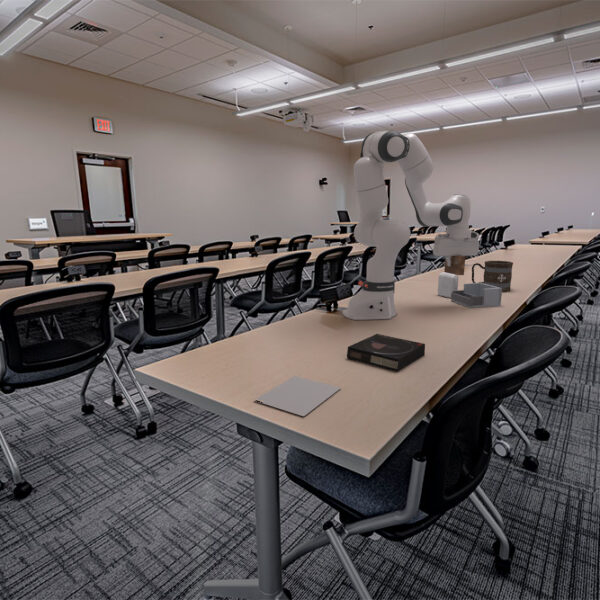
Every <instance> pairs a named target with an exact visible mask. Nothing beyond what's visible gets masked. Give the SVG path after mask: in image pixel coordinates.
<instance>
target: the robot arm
mask: <svg viewBox="0 0 600 600" xmlns="http://www.w3.org/2000/svg"><path fill="white" fill-rule="evenodd" d="M360 150H361V151H360V155H359V156H360V158H359V159H357V160H356V162H355V163H354V165H353V179H354V184H355V190H356V194H357V199H358V203H359V209H360V214H359V220H358V222H357V224H356V226H355V227H354V231H353V235H354V236H353V237H354V240H355V241H356V242H357V243H359V244H361V245H364V246H366V247H375V249H376V250H375V253H374V255H373V256H372V257H370V258H369V259H368V260H367V263H366V280H365V281H362V280H359V281H358V283H357V284H358V287H361V288H362V289H360V291H358V292H357V293H356V294H355V295H353V296H352V297H351V298H350V299H349V301H348V303H347V309H344V310H342V316H344V317H345V318H347V319H349V320H354V321H363V320H365V321H367V320H368V321H369V320H391V319H392V318H393V317H395V316H396V315H397V314H398V313H397V309H396V306H395V305H396V304H395V297H394V296H395V288H396V285H395V282H396V281H395V280H394V279H395V265H396V260H397V257H398V255H399V253H400V251H401V249H402V248H403V247H405V246H406V245H407V244H408V243H409V241H410V238H411V228H410V226H409V224H408V223H407V222H405V221H402V220H398V219H384V218H383V210H384V209H386V207H387V205H389V197H388V190H387V187H386V181H385V177H384V174H383V173H384V172H383V171H384V166H385V163H393V162H394V163H396V162H397V163H398V164H399V166H400V168H401V170H402V172H403V175H404V177H405V178H404V185H405V188H406V190H407V193H408V196H409V198H410V200H411V203H412V205H413V208H414V211H415V217H416V221H417V222H418V225H420V226H421V227H423V228H424V227H425V228H426V227H446V230H445V231H446V233H443V234H442V233H438V234H437V235H436V236H434V243H433V249H432V255H433V256H436V257H445V256H446V260H447V262H448V264H447V266H453V262H451V260H450V258H451V256H477V255H478V254H479V252H480V251H479V250H480V249H479V248H480V242H479V240H478V239H479V237H480V234H479V233H478V232H475V231H473V230H470V228H469V227H470V225H469V219H470V217H471V199H470V197H468V195H465V194H452V195H450V197H449V198H448V199H446V200H445V201H443V202H435V203H434V202H431V201H429V200H428V199H427V195H426V193H425V190H424V187H423V183H425V182H426V181H427V180H428V179H429V178H430V176H431V175H432V173H433V171H434V164H433V160H432V158H431V156H430V154H429V152H428V150H427V148H426V147H425V145H424V144H423V143H422V141H421V140H420V138H419V137H418V136H417V135H416V134H415V133H412V132H408V133H403V134H402V133H401V132H398V131H395V130H379V131H374V132H371V133H369V134H367V136H365V137H364V139H363V140H362V143H361V149H360Z"/></svg>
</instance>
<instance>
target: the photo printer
mask: <svg viewBox="0 0 600 600" xmlns="http://www.w3.org/2000/svg"><path fill="white" fill-rule="evenodd" d="M437 283H438V284H437V296H441V297H445V298H450V299H451V293H453V291H457V290H458V289H459V275H454V274H450V273H446V272H444V271H443V272H440V273H439V274H438V282H437Z"/></svg>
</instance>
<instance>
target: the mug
mask: <svg viewBox="0 0 600 600" xmlns="http://www.w3.org/2000/svg"><path fill="white" fill-rule="evenodd" d="M476 266H479V268H480V269H482V270H484V271H483V281H479V282H478V283H483V284H487V285H491V286H495V287H499V288H502V294H503V293H504V294H505V293H509V292H511V291H512V290H511V285H512V279H513V276H512V275H513V274H512V271H513V266H514V262H512V261H508V260H507V261H506V260H487V261H484V265H482V264H481V263H478V262H476V263H474V264H473V265H472V266H471V281H472V283H477V282H476V281H475V267H476Z"/></svg>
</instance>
